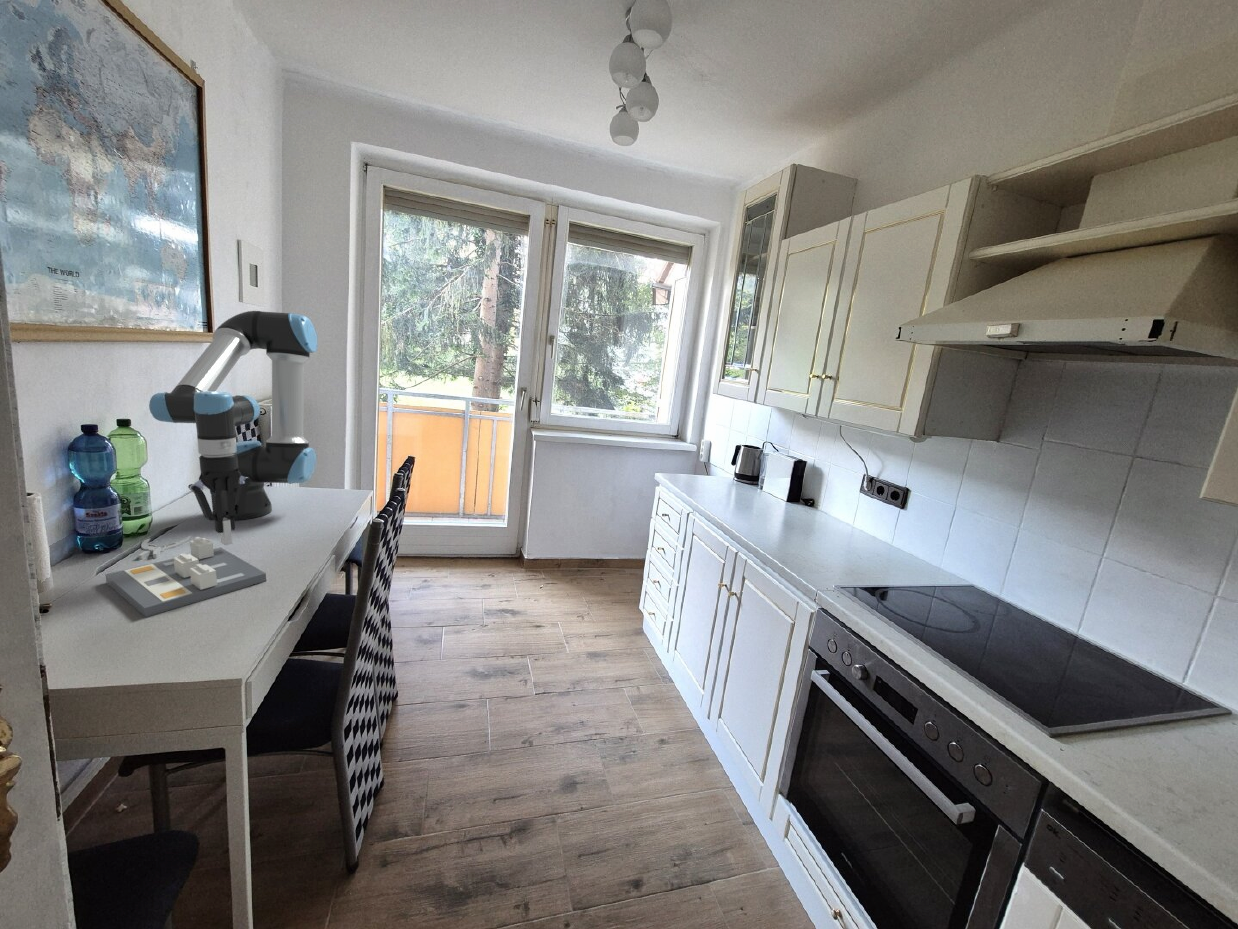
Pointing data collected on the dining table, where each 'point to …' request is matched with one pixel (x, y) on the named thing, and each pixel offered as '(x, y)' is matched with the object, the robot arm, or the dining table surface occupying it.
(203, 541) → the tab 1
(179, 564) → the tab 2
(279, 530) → the dining table surface
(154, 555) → the pliers
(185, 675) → the dining table surface
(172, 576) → the switch bank
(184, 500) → the dining table surface
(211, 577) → the white plastic block
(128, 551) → the dining table surface
